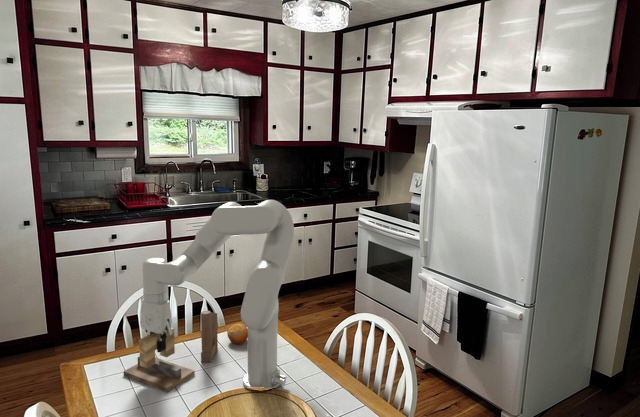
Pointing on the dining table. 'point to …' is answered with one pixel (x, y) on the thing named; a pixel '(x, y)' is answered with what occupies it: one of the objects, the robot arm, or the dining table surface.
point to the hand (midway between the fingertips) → (157, 348)
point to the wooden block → (208, 335)
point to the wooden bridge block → (154, 348)
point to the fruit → (238, 333)
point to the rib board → (160, 374)
